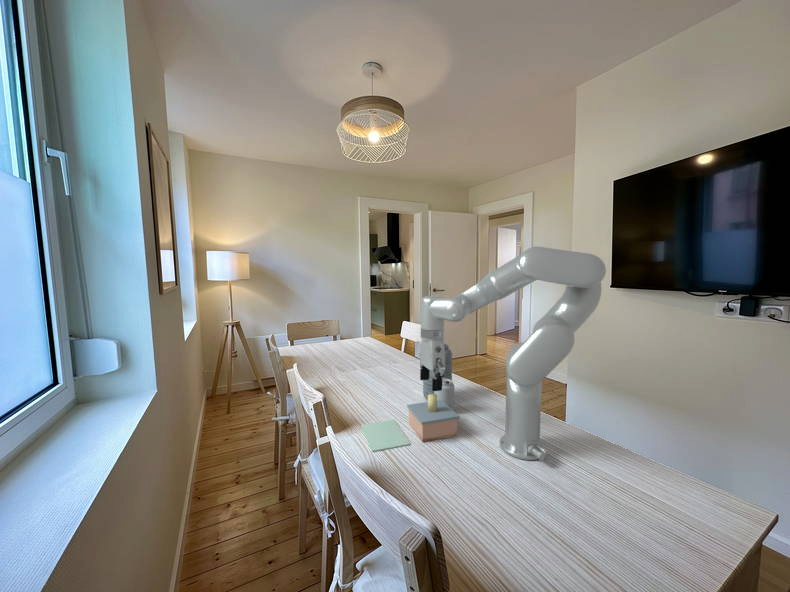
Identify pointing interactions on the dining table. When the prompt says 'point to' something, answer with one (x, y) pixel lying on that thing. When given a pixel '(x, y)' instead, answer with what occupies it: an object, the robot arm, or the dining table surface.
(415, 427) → the salmon open box
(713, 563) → the dining table surface
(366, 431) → the mat
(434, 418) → the lid
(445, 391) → the can
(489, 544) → the dining table surface
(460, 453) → the dining table surface
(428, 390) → the vase
